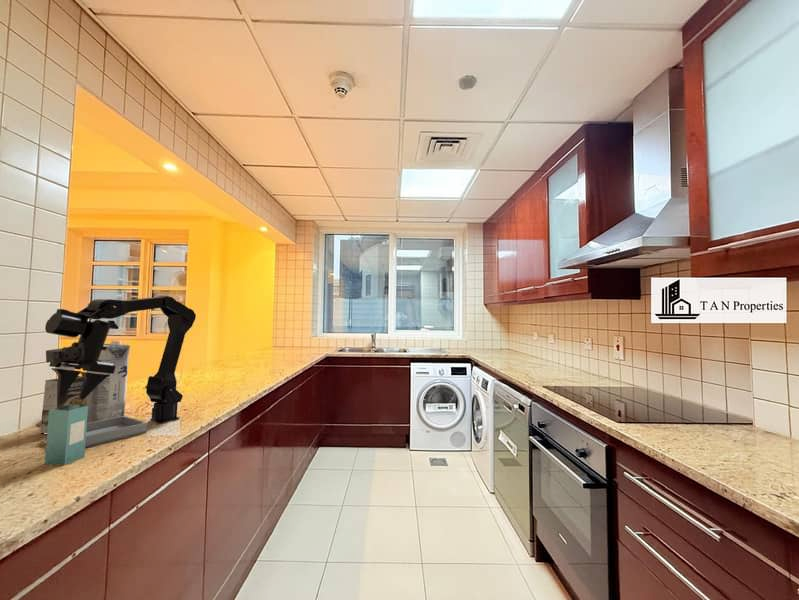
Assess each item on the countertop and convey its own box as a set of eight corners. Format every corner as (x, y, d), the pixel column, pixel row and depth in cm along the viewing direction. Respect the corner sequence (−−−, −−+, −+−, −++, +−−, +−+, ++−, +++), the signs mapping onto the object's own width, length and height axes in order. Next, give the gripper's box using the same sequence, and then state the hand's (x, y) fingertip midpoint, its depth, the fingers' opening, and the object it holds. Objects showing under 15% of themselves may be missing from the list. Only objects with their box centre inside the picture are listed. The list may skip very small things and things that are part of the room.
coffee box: (55, 436, 101) (60, 381, 102) (39, 434, 102) (43, 379, 103) (89, 427, 110) (93, 376, 111) (73, 425, 111) (77, 375, 112)
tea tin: (65, 456, 88) (69, 404, 89) (84, 457, 88) (88, 405, 88) (44, 464, 83) (49, 409, 84) (64, 465, 83) (69, 410, 83)
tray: (123, 424, 113) (124, 415, 113) (146, 432, 107) (147, 422, 107) (49, 441, 97) (49, 430, 97) (70, 451, 91) (71, 440, 91)
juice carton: (99, 425, 112) (105, 342, 113) (78, 421, 115) (84, 340, 116) (128, 418, 120) (134, 340, 121) (108, 415, 123) (113, 339, 125)
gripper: (37, 333, 95) (13, 391, 90) (80, 336, 89) (56, 399, 84) (83, 341, 105) (63, 394, 100) (125, 344, 99) (105, 401, 94)
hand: (71, 397), depth 95 cm, fingers open, 9 cm apart
